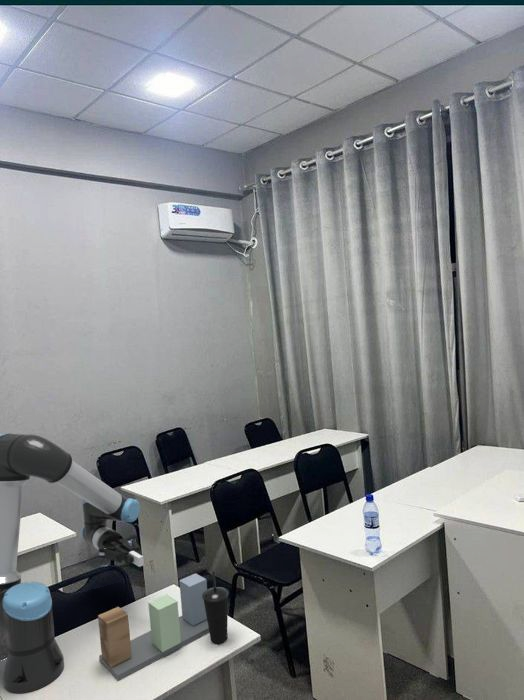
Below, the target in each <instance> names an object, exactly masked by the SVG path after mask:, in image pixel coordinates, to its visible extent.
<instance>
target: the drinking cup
mask: <svg viewBox="0 0 524 700" xmlns="http://www.w3.org/2000/svg"><path fill="white" fill-rule="evenodd" d="M211 573H212V584H213V587H210V588H207V590H206V591H204V592H203V594H202V598H203V600H204V605H205V610H206V616H207V622H208V627H209V633H208V634H209V638H210V642H211V643H212V644H213V643H214V644H213V645H221V644H224V643H226V642H227V640H228V614H229V612H228V609H229V607H228V605H229V604H228V603H229V602H228V600H229V599H228V596H229V593H230V592H229V590H228V589H227V588H225V587H223V586H217V585H216V584H217V583H216V572H215V571H212V572H211Z"/></svg>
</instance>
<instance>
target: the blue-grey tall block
mask: <svg viewBox="0 0 524 700" xmlns="http://www.w3.org/2000/svg"><path fill="white" fill-rule="evenodd" d="M207 581H208V580H207V578H205V577H203V576H201V575H199V574H198V573H192V574H191V575H188V576H186V577H184V578H181V579H180V580H178V582H179V591H180V594H179V595H180V603H181V604H180V605H181V616H182V618H183V619H184V620H186V621H187V622H188V623H190V624H191V625H193V626H194V625H196V624H198V623H200V622H202V621H204V620H206V619H207V616H206V610H205V605H204V600H203V598H202V594H203V592H204V591H206V590H208V584H207V583H208V582H207Z"/></svg>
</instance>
